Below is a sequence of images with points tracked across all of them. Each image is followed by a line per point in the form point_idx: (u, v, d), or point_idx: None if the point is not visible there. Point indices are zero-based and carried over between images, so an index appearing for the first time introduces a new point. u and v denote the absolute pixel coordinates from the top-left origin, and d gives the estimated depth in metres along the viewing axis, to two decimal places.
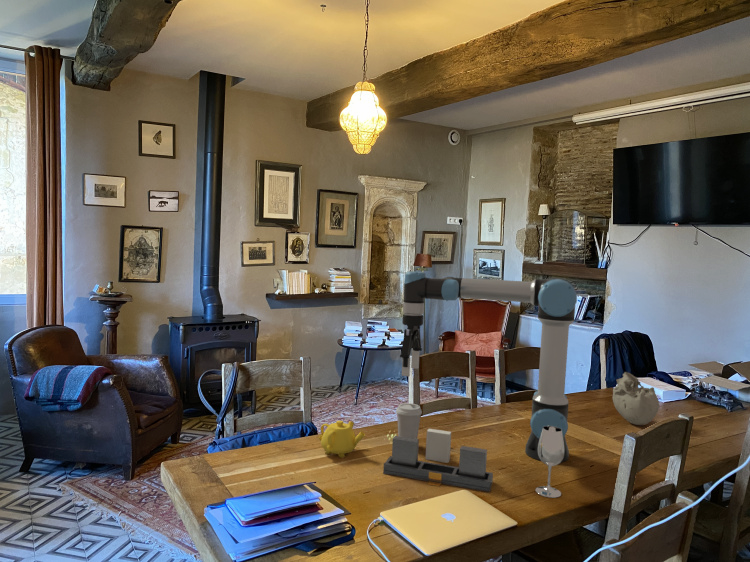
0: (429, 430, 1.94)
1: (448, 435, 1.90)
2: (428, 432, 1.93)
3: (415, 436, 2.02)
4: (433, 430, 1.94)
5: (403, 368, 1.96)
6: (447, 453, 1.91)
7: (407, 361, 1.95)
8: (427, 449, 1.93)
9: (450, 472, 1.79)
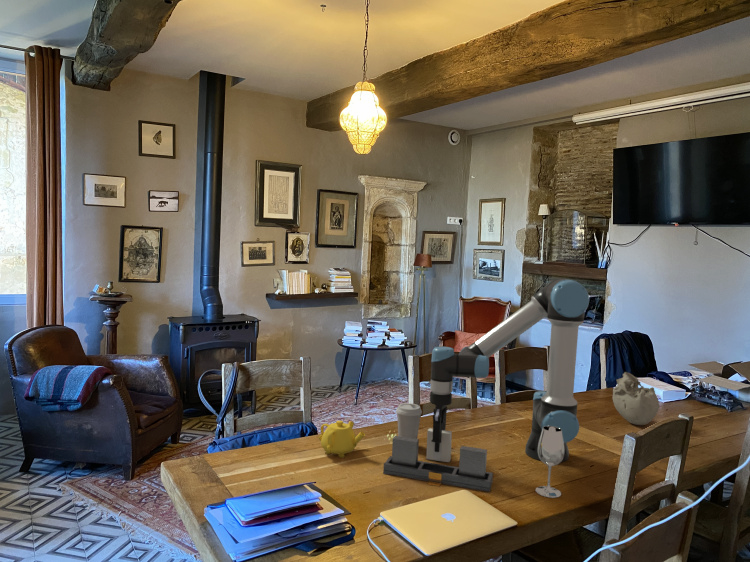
0: (430, 430, 1.93)
1: (449, 434, 1.90)
2: (429, 432, 1.92)
3: (415, 436, 2.02)
4: None
5: (434, 452, 1.91)
6: (448, 452, 1.91)
7: (439, 446, 1.90)
8: (428, 449, 1.93)
9: (450, 472, 1.79)
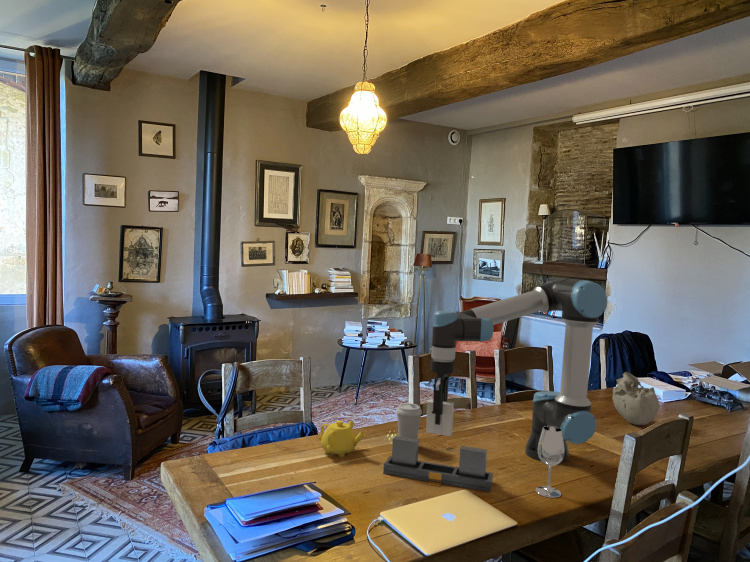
0: (430, 401, 1.78)
1: (450, 406, 1.75)
2: (429, 403, 1.77)
3: (415, 436, 2.02)
4: None
5: (435, 425, 1.76)
6: (449, 425, 1.75)
7: (440, 418, 1.75)
8: (427, 421, 1.77)
9: (450, 472, 1.79)
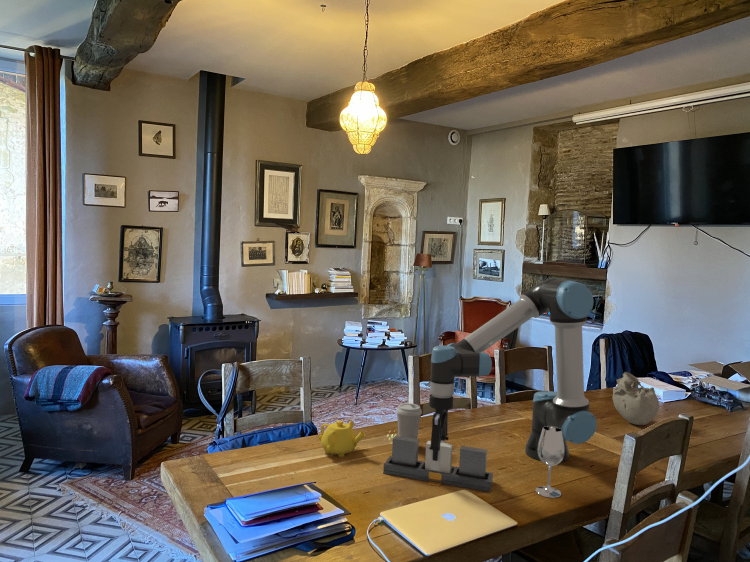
0: (429, 442, 1.78)
1: (449, 448, 1.75)
2: (427, 445, 1.77)
3: (415, 436, 2.02)
4: None
5: (432, 461, 1.74)
6: (448, 468, 1.76)
7: (437, 454, 1.72)
8: (426, 463, 1.78)
9: None
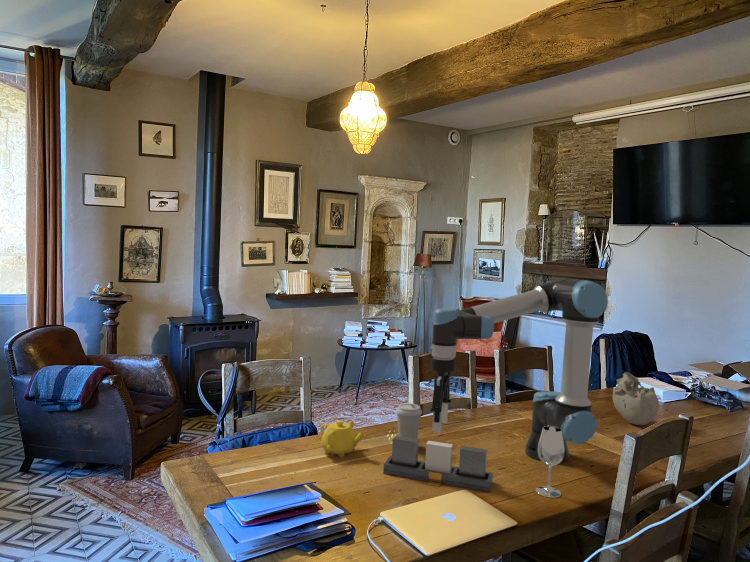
0: (429, 442, 1.78)
1: (449, 448, 1.75)
2: (428, 445, 1.77)
3: (415, 436, 2.02)
4: (433, 442, 1.79)
5: (434, 423, 1.72)
6: (448, 468, 1.76)
7: (439, 416, 1.71)
8: (426, 463, 1.78)
9: None
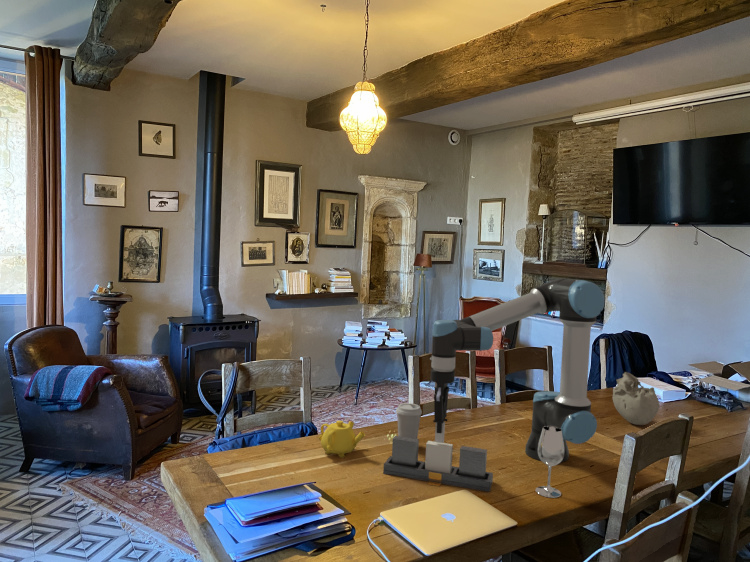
0: (429, 442, 1.78)
1: (449, 448, 1.75)
2: (428, 445, 1.77)
3: (415, 436, 2.02)
4: (433, 442, 1.79)
5: (436, 434, 1.77)
6: (448, 468, 1.76)
7: (441, 426, 1.76)
8: (426, 463, 1.78)
9: None
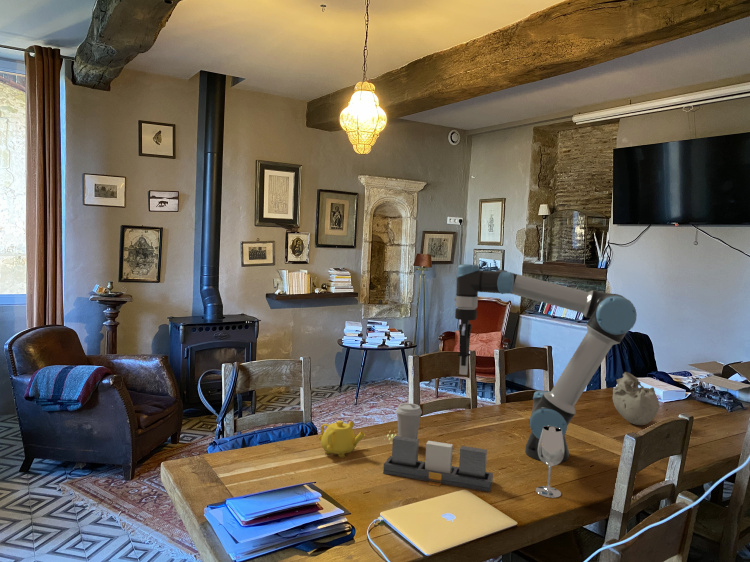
0: (429, 442, 1.78)
1: (449, 448, 1.75)
2: (428, 445, 1.77)
3: (415, 436, 2.02)
4: (433, 442, 1.79)
5: (461, 367, 1.97)
6: (448, 468, 1.76)
7: (465, 360, 1.96)
8: (426, 463, 1.78)
9: None
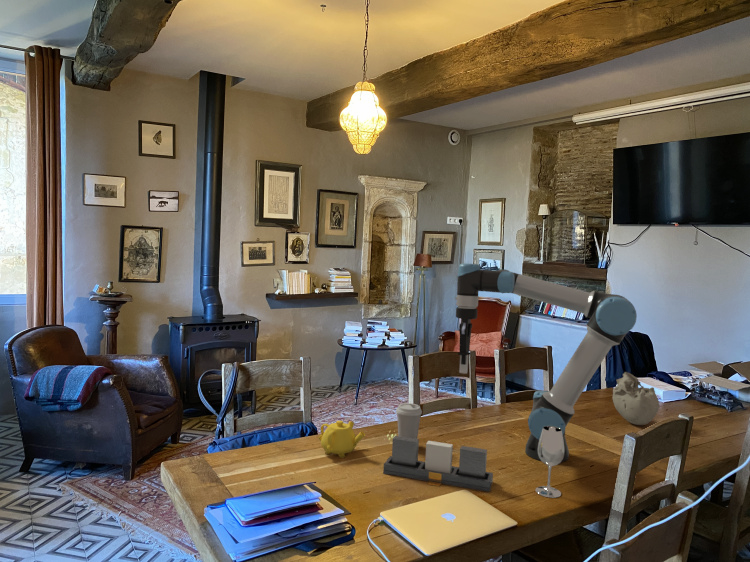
0: (429, 442, 1.78)
1: (449, 448, 1.75)
2: (428, 445, 1.77)
3: (415, 436, 2.02)
4: (433, 442, 1.79)
5: (461, 365, 1.98)
6: (448, 468, 1.76)
7: (465, 358, 1.96)
8: (426, 463, 1.78)
9: None
